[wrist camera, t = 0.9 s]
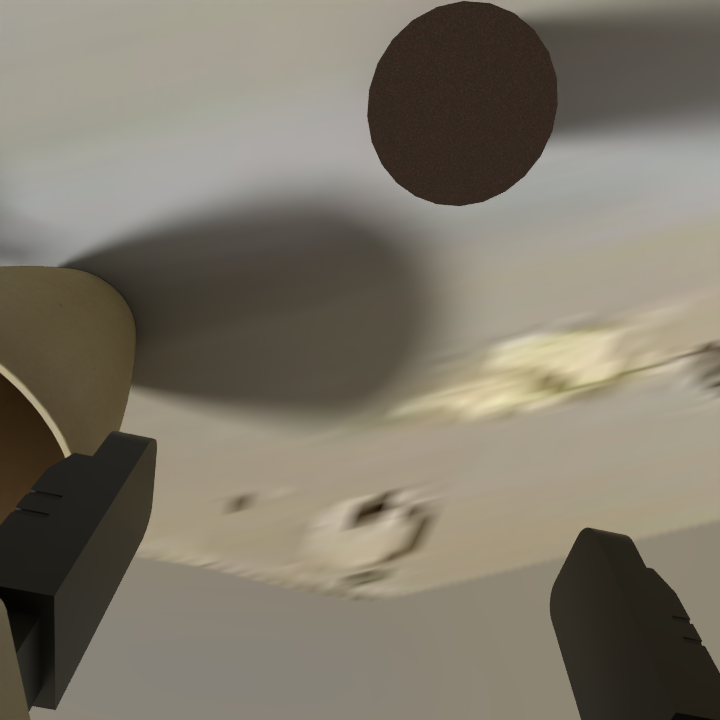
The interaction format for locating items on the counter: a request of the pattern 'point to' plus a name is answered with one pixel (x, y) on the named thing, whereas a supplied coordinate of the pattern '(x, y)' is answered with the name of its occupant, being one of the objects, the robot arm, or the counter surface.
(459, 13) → the deodorant
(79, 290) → the plant pot
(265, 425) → the counter surface
